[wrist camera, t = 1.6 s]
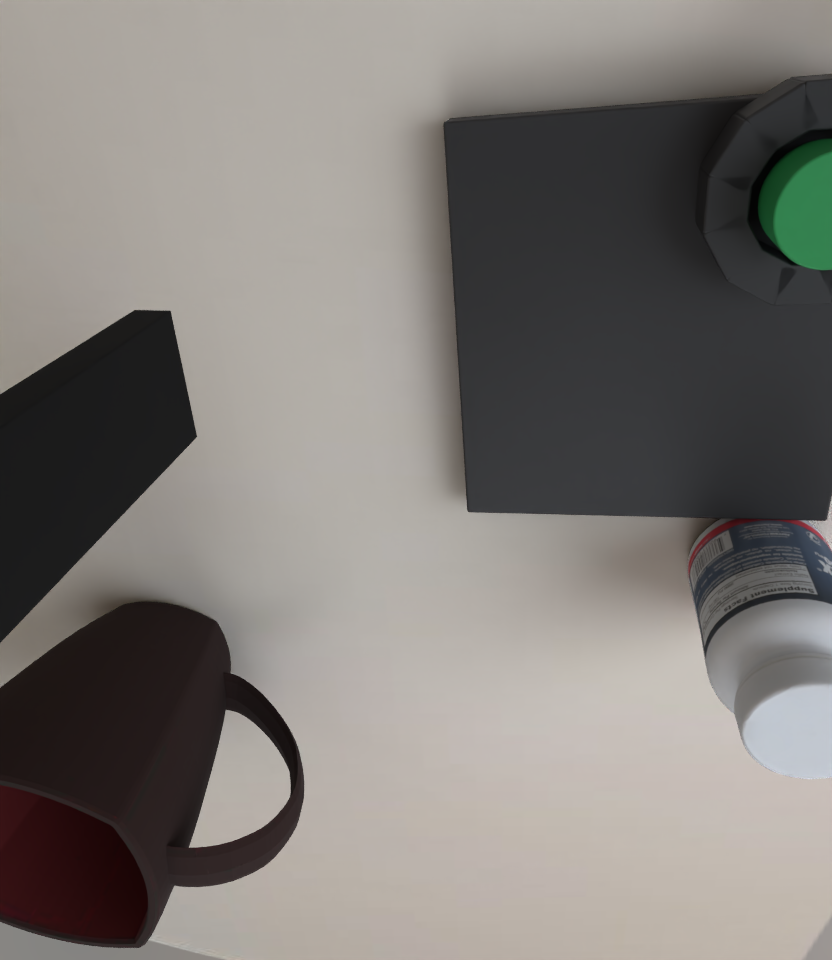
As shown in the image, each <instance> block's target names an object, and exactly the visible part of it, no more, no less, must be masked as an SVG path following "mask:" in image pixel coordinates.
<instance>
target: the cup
mask: <svg viewBox="0 0 832 960" xmlns="http://www.w3.org/2000/svg"><path fill="white" fill-rule="evenodd" d="M230 672H231V661H230V653H229V648H228V645H227V642H226V639H225V637H224V634H223V632H222V630H221V628H220V626H219V624H218V623H217V622H216V621H214V620H212V619H210V618H208V617H206V616H204V615H202V614H200V613H198V612H195V611H192V610H190V609H187V608H184V607H180V606H176V605H172V604H167V603H158V602H135V603H129V604H125V605H122V606H120V607H118V608H116V609H115V610H113V611H111V612H109V613H107V614H105V615H104V616H102V617H100V618H98V619H96V620H95V621H93V622H91V623H89V624H88V625H86V626H85V627H83V628H81V629H80V630H78V631H77V632H75V633H74V634H72V635H71V636H69V637H68V638H66V639H65V640H63V641H62V642H60V643H59V644H58V645H56V646H55V647H54V648H52V649H51V650H49V651H48V652H47V653H45V654H44V655H43V656H41V657H40V658H39V659H37V660H36V661H34V662H33V663H32V664H31V665H29V666H28V667H27V668H25V669H24V670H23V671H21V672H20V673H19V674H18V675H16V676H15V677H14V678H12V679H11V680H10V681H8V682H7V683H6V684H4V685H3V686H2V687H1V688H0V922H2V923H5V924H8V925H11V926H13V927H16V928H19V929H22V930H25V931H28V932H31V933H35V934H38V935H42V936H45V937H49V938H53V939H57V940H62V941H66V942H72V943H77V944H84V945H91V946H100V947H114V948H115V947H116V948H139V947H141V946H143V945H145V944H146V942H147V941H148V939H149V938H150V937H151V935H152V933H153V931H154V930H155V928H156V925H157V923H158V921H159V919H160V917H161V915H162V913H163V911H164V908H165V906H166V903H167V901H168V899H169V896H170V894H171V892H172V889H173V887H174V885H175V886H182V887H203V886H213V885H219V884H224V883H227V882H231V881H234V880H237V879H239V878H242V877H244V876H247V875H249V874H251V873H253V872H255V871H257V870H259V869H260V868H262V867H264V866H265V865H266V864H268V863H269V862H270V861H271V860H272V859H273V858H274V857H275V856H276V855H277V854H278V853H279V852H280V850H281V849H282V848H283V847H284V845H285V844H286V843H287V841H288V840H289V838H290V837H291V835H292V834H293V832H294V830H295V828H296V826H297V823H298V820H299V817H300V812H301V808H302V804H303V799H304V775H303V768H302V762H301V758H300V754H299V750H298V746H297V744H296V741H295V739H294V737H293V735H292V733H291V731H290V729H289V727H288V726H287V724H286V723H285V721H284V720H283V718H282V717H281V715H280V714H279V713H278V712H277V710H276V709H275V708H274V706H273V705H272V704H271V703H270V702H269V701H268V700H267V699H266V698H265V696H264V695H263V694H262V693H261V692H259V691H258V690H257V689H256V688H255V687H254V686H253V685H251V684H250V683H248V682H247V681H246V680H244V679H242V678H241V677H239V676H236V675H234V674H230ZM225 710H231V711H235V712H238V713H240V714H242V715H244V716H245V717H247V718H248V719H250V720H251V721H252V722H254V723H255V724H256V725H257V726H258V727H259V728H260V729H261V730H262V731H263V732H264V733H265V734H266V735H267V736H268V737H269V738H270V739H271V741H272V742H273V743H274V745H275V746H276V747H277V749H278V750H279V752H280V753H281V755H282V757H283V758H284V760H285V762H286V764H287V766H288V769H289V771H290V780H291V795H290V798H289V800H288V802H287V803H286V805H285V806H284V808H283V809H282V810H281V811H280V812H279V814H278V815H277V816H276V817H275V818H274V819H273V820H272V821H270V822H269V823H268V824H267V825H265V826H264V827H263V828H261V829H259V830H257V831H256V832H254V833H252V834H249V835H247V836H245V837H242V838H240V839H237V840H235V841H232V842H228V843H225V844H221V845H216V846H209V847H198V848H189V845H190V842H191V839H192V836H193V833H194V830H195V827H196V823H197V820H198V817H199V814H200V810H201V807H202V803H203V799H204V796H205V792H206V789H207V785H208V782H209V778H210V774H211V771H212V767H213V763H214V759H215V756H216V752H217V748H218V744H219V740H220V735H221V731H222V726H223V722H224V716H225Z"/></svg>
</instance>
